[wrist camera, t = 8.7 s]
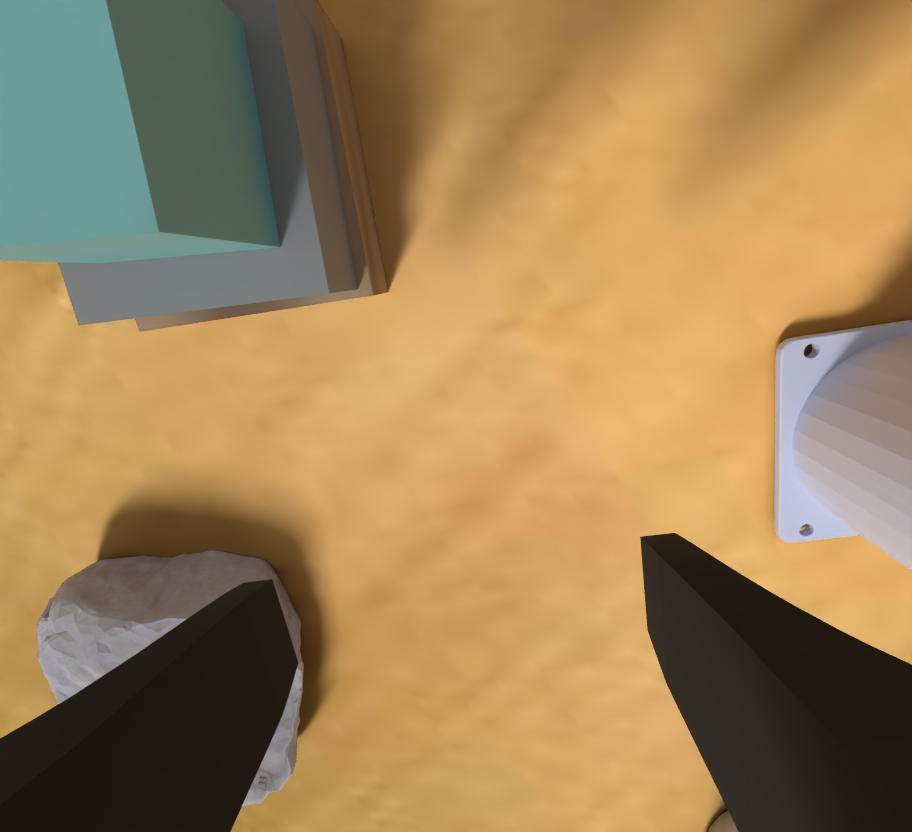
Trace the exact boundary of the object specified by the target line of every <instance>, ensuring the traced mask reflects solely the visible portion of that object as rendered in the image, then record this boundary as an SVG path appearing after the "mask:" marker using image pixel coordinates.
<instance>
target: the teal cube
mask: <svg viewBox="0 0 912 832" xmlns="http://www.w3.org/2000/svg"><path fill="white" fill-rule="evenodd" d="M279 247H281V246H280V240H279V234H278V228H277V222H276V216H275V210H274V204H273V199H272V193H271V187H270V181H269V175H268V169H267V163H266V157H265V151H264V145H263V139H262V133H261V127H260V121H259V115H258V109H257V103H256V97H255V91H254V85H253V79H252V73H251V67H250V61H249V55H248V49H247V43H246V37H245V31H244V25H243V22H242V21H241V20H240V19H239V18H238V17H237V16H236V15H235V14H234V13H233V12H232V11H231V10H230V9H229V8H228V7H227V6H226V5H225V4H224V3H223V2H222V1H221V0H0V261H33V262H70V263H111V262H122V261H133V260H145V259H156V258H167V257H178V256H189V255H201V254H212V253H223V252H234V251H245V250H257V249H268V248H279Z"/></svg>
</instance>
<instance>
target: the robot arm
mask: <svg viewBox="0 0 912 832" xmlns="http://www.w3.org/2000/svg"><path fill="white" fill-rule="evenodd" d="M809 344H812V347H813V349H812V352H811V353H810V354H809V355H808V356H804V349H805V347H806V346H807V345H809ZM805 524H808V525H807V527H806V528H805V529H804V530H802V531H799V530H800V528H801V527H802V526H803V525H805ZM774 530H775V533H776V535H777V536H778V537H779V538H780V539H782V540H783V541H785V542H801V541H810V540H820V539H829V538H838V537H847V536H856V535H861V536H862V537H864V538H865V539H867V540H868V541H869V542H871V543H872V544H874V545H875V546H877V547H878V548H879V549H881V550H882V551H884V552H885V553H886V554H888V555H889V556H891V557H892V558H893V559H895V560H896V561H898V562H899V563H901V564H902V565H903V566H905V567H906V568H908V569H909V570H910V571H912V320H905V321H899V322H892V323H885V324H879V325H872V326H865V327H859V328H852V329H845V330H839V331H832V332H825V333H819V334H812V335H806V336H799V337H792V338H788V339H785V340H784V341H783V342H781V343H780V344H779V346H778V347H777V350H776V374H775V490H774ZM641 550H642V563H643V576H644V589H645V602H646V615H647V628H648V632H649V635H650V638H651V641H652V644H653V647H654V650H655V653H656V655H657V658H658V661H659V664H660V667H661V669H662V672H663V675H664V678H665V680H666V683H667V685H668V687H669V689H670V692H671V694H672V696H673V698H674V700H675V702H676V704H677V706H678V708H679V710H680V712H681V715H682V717H683V719H684V721H685V723H686V725H687V727H688V729H689V731H690V733H691V735H692V737H693V739H694V741H695V743H696V745H697V747H698V749H699V752H700V754H701V756H702V758H703V760H704V762H705V764H706V766H707V768H708V770H709V772H710V774H711V776H712V778H713V780H714V782H715V784H716V786H717V788H718V790H719V792H720V794H721V797H722V799H723V801H724V803H725V805H726V807H727V809H728V811H729V813H730V815H731V817H732V819H733V821H734V823H735V825H736V828H737V830H738V832H912V665H911V664H909V663H907V662H905V661H903V660H900V659H898V658H896V657H894V656H892V655H890V654H887V653H885V652H883V651H881V650H879V649H877V648H875V647H872V646H870V645H868V644H866V643H864V642H862V641H860V640H858V639H856V638H854V637H852V636H850V635H848V634H846V633H844V632H842V631H840V630H838V629H837V628H835V627H833V626H831V625H829V624H827V623H825V622H823V621H822V620H820V619H818V618H816V617H814V616H812V615H810V614H809V613H807V612H805V611H803V610H801V609H799V608H797V607H796V606H794V605H792V604H790V603H789V602H787V601H785V600H783V599H782V598H780V597H778V596H776V595H775V594H773V593H771V592H770V591H768V590H766V589H764V588H763V587H761V586H759V585H758V584H756V583H754V582H753V581H751V580H749V579H748V578H746V577H745V576H743V575H741V574H740V573H738V572H736V571H735V570H733V569H732V568H730V567H728V566H727V565H725V564H724V563H722V562H721V561H719V560H717V559H716V558H714V557H713V556H711V555H710V554H708V553H706V552H705V551H703V550H702V549H700V548H699V547H697V546H695V545H694V544H692V543H691V542H689V541H687V540H686V539H684V538H683V537H681V536H679V535H677V534H676V533H670V534H661V535H653V536H644V537H641ZM297 666H298V659H297V656H296V653H295V650H294V647H293V643H292V640H291V637H290V634H289V631H288V627H287V624H286V621H285V618H284V615H283V611H282V608H281V605H280V602H279V599H278V595H277V592H276V589H275V586H274V582H273V579H269V580H261V581H252V582H244V583H242V584H240V585H239V586H237V587H235V588H233V589H231V590H230V591H228V592H226V593H225V594H223V595H222V596H220V597H219V598H217V599H216V600H214V601H213V602H211V603H210V604H208V605H207V606H205V607H204V608H202V609H201V610H199V611H198V612H196V613H195V614H193V615H192V616H190V617H189V618H188V619H186V620H185V621H183V622H182V623H180V624H179V625H177V626H176V627H175V628H173V629H172V630H170V631H169V632H167V633H166V634H164V635H163V636H162V637H160V638H159V639H157V640H156V641H154V642H153V643H151V644H150V645H149V646H147V647H146V648H144V649H143V650H141V651H140V652H138V653H137V654H135V655H134V656H132V657H131V658H129V659H128V660H126V661H125V662H123V663H122V664H120V665H119V666H117V667H116V668H114V669H113V670H111V671H109V672H108V673H106V674H105V675H103V676H102V677H100V678H99V679H97V680H96V681H94V682H93V683H91V684H90V685H88V686H87V687H85V688H84V689H82V690H80V691H79V692H77V693H76V694H74V695H73V696H71V697H70V698H68V699H66V700H65V701H63V702H62V703H60V704H58V705H57V706H55V707H53V708H52V709H50V710H48V711H47V712H45V713H43V714H42V715H40V716H39V717H37V718H35V719H33V720H32V721H30V722H28V723H27V724H25V725H23V726H21V727H20V728H18V729H16V730H14V731H13V732H11V733H9V734H7V735H6V736H4V737H2V738H1V739H0V832H230V831H231V829H232V827H233V825H234V822H235V820H236V818H237V816H238V814H239V811H240V809H241V807H242V805H243V803H244V800H245V798H246V796H247V794H248V792H249V789H250V787H251V785H252V783H253V781H254V778H255V776H256V774H257V772H258V770H259V767H260V765H261V763H262V761H263V759H264V756H265V754H266V752H267V749H268V747H269V745H270V743H271V740H272V738H273V736H274V734H275V731H276V729H277V727H278V725H279V722H280V720H281V717H282V715H283V712H284V709H285V706H286V703H287V700H288V697H289V694H290V691H291V687H292V684H293V680H294V677H295V673H296V670H297Z"/></svg>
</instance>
